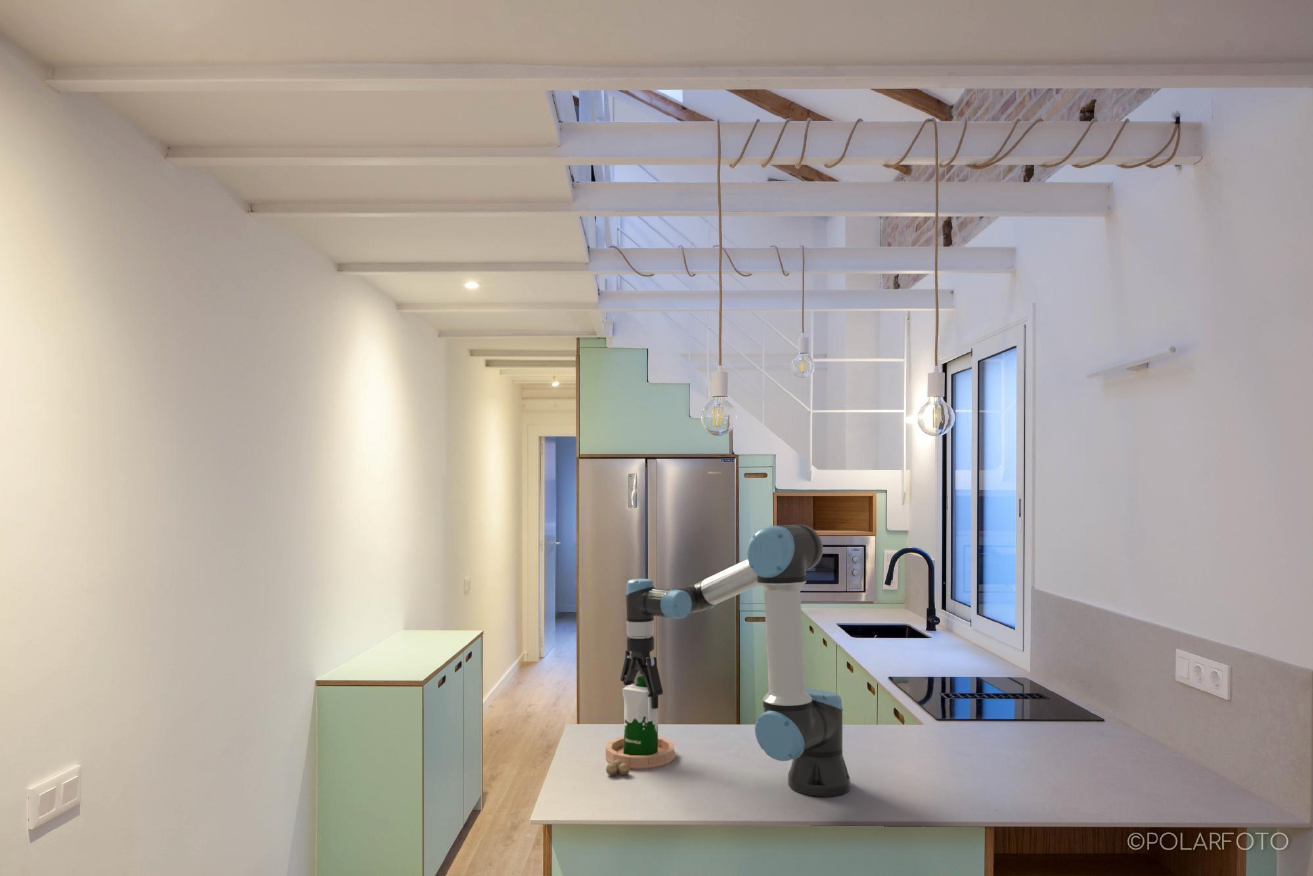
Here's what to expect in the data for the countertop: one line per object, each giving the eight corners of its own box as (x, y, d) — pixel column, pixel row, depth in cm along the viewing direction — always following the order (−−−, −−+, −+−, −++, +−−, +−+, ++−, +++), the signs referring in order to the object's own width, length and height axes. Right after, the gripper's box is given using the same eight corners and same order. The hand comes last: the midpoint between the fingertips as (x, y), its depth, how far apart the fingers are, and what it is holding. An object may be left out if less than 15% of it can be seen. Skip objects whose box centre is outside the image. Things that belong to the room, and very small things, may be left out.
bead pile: (631, 775, 211) (631, 764, 211) (611, 779, 209) (611, 767, 209) (621, 768, 217) (621, 757, 217) (601, 772, 214) (601, 760, 214)
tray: (687, 761, 222) (687, 750, 222) (624, 774, 213) (624, 762, 213) (653, 742, 238) (653, 731, 239) (594, 752, 229) (594, 741, 229)
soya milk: (662, 751, 227) (662, 677, 228) (646, 761, 219) (646, 685, 220) (634, 746, 231) (634, 674, 232) (618, 756, 223) (618, 681, 224)
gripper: (674, 641, 218) (676, 723, 217) (631, 628, 240) (632, 702, 239) (650, 644, 214) (651, 727, 213) (608, 630, 236) (609, 706, 235)
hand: (641, 714), depth 226 cm, fingers open, 13 cm apart
